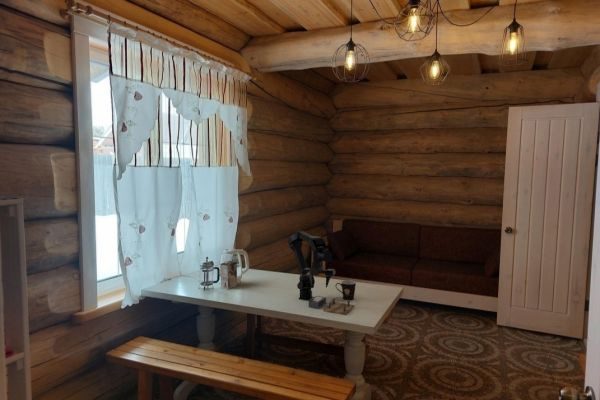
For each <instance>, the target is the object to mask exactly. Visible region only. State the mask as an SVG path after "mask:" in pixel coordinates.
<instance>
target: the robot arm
mask: <svg viewBox="0 0 600 400" xmlns="http://www.w3.org/2000/svg"><path fill="white" fill-rule="evenodd" d="M303 241H304V242H306V243H308V244H309V246H310V248H311V249H310V252H312V262H311V266H310V267H308V265H307V262H306V259H305V255H304V252H303V249H302V248H303ZM287 244H288V246H289V249H291V251H292V252H293V254H294V257H295V259H296V263H297V266H298V270H299V273H300V274H299V278H298V279H299V282H298V283H297V284H296V287H297V289H298V290H299V297H298V300H304V301H309V300H311V299H312V298H313V291H312V289H314V287H315V282H316V281H315V277H314V276H318V275H321V274H324V275H325V288H327V287H328V286H329V283H330V280H331V278H332V277H334V276H335V275H336V269H334V268H327V269H325V268H324V262H325V263H329V262H331V261H332V260H333V254H332V253H331V251H330V250H329V248H328V245H327V244H326V242H325V239H324V237H322V236H315V235H312V234H310V233H308V232H306V231H304V230H297V231H295V233H293V234H292V235H290V236H289V237H288V239H287Z"/></svg>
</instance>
